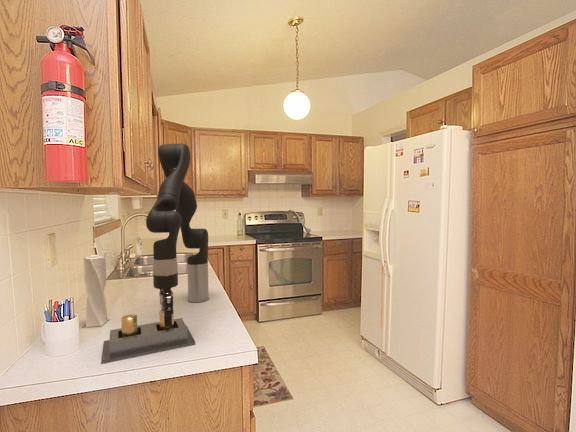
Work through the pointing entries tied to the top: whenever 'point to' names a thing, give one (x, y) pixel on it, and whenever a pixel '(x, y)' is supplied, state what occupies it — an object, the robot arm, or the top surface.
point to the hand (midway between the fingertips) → (167, 322)
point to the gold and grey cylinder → (161, 317)
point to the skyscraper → (95, 290)
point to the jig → (144, 339)
